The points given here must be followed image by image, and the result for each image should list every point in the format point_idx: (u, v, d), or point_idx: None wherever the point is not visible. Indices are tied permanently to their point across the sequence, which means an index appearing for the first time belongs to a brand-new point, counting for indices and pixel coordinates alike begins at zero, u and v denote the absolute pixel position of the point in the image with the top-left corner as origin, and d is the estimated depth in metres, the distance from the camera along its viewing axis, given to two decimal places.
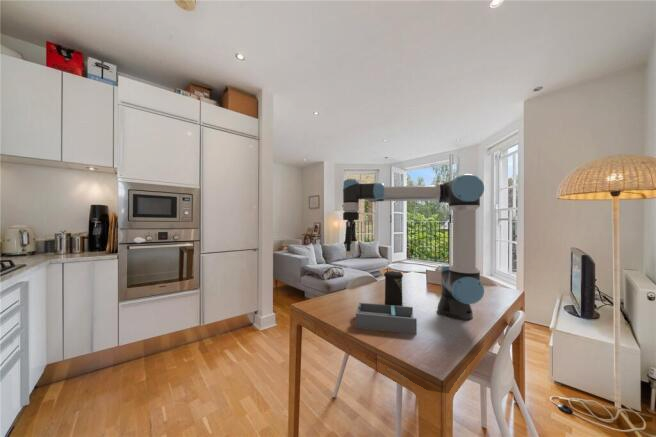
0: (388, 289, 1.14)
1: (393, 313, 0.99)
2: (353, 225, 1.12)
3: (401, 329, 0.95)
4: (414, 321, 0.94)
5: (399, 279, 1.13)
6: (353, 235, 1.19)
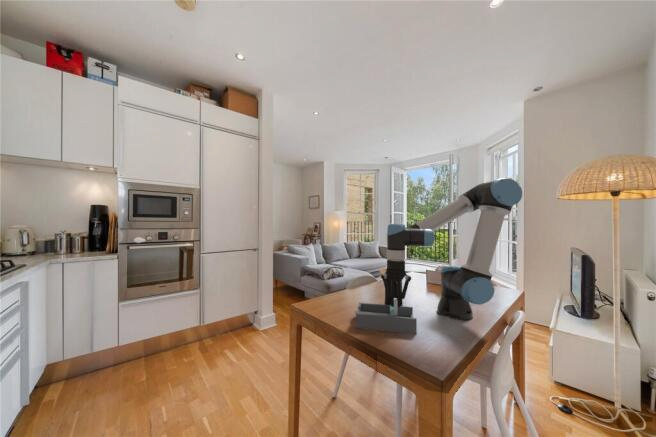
0: (388, 289, 1.14)
1: (392, 313, 0.99)
2: (391, 276, 1.02)
3: (401, 329, 0.95)
4: (414, 321, 0.94)
5: None
6: (397, 289, 1.02)
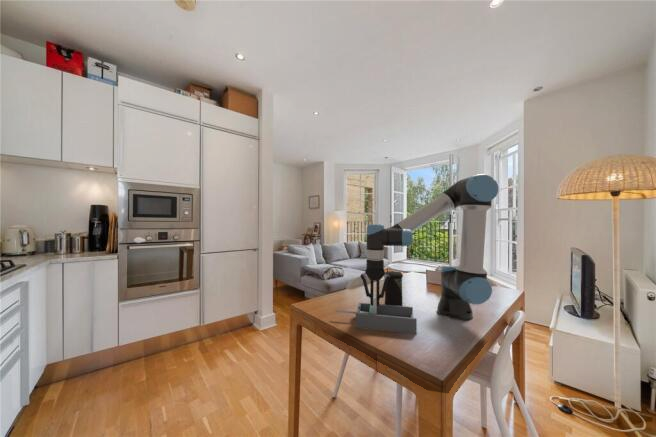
0: (388, 289, 1.14)
1: (371, 311, 1.01)
2: None
3: (401, 329, 0.95)
4: (414, 321, 0.94)
5: (399, 279, 1.13)
6: None
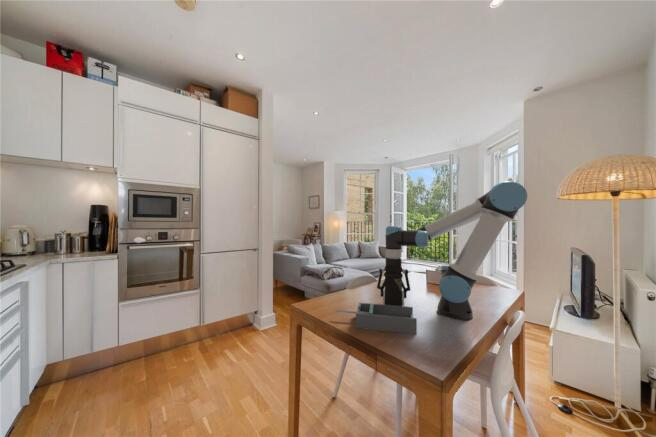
0: (388, 289, 1.14)
1: (371, 311, 1.01)
2: (389, 271, 1.15)
3: (401, 329, 0.95)
4: (414, 321, 0.94)
5: (399, 279, 1.13)
6: None
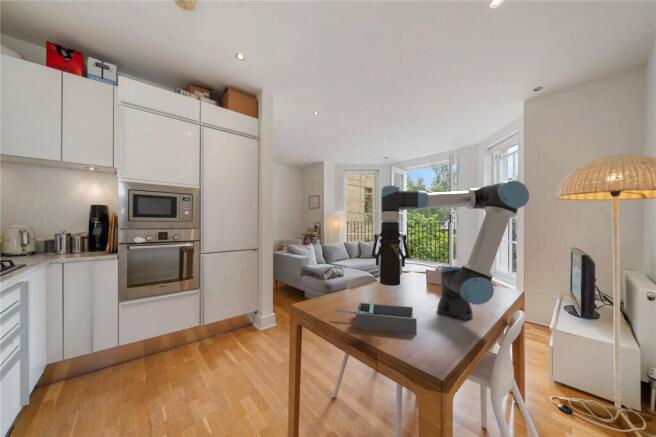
0: (384, 256, 1.01)
1: (371, 311, 1.01)
2: (385, 237, 1.02)
3: (401, 329, 0.95)
4: (414, 321, 0.94)
5: (396, 245, 1.00)
6: None
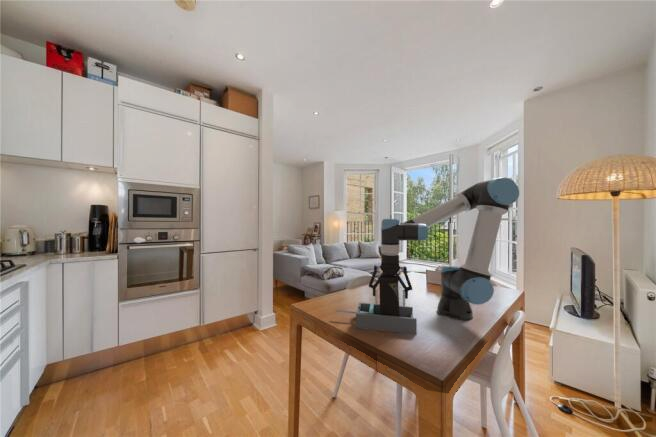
0: (383, 295, 1.01)
1: (371, 311, 1.01)
2: (385, 269, 1.02)
3: (401, 329, 0.95)
4: (414, 321, 0.94)
5: (395, 284, 1.00)
6: (400, 282, 1.02)
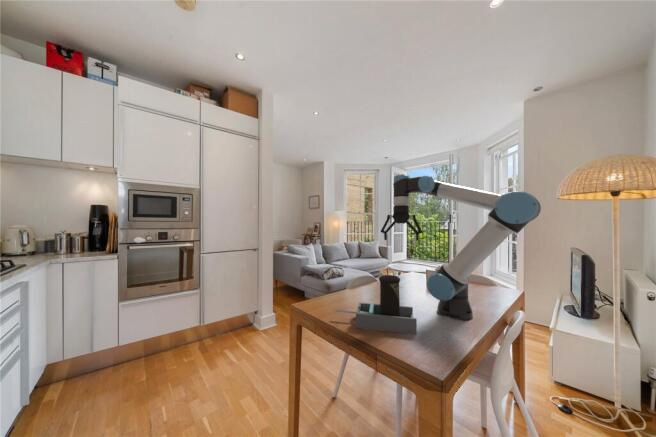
0: (384, 295, 1.01)
1: (371, 311, 1.01)
2: (397, 218, 1.21)
3: (401, 329, 0.95)
4: (414, 321, 0.94)
5: (396, 284, 1.00)
6: (411, 228, 1.20)
